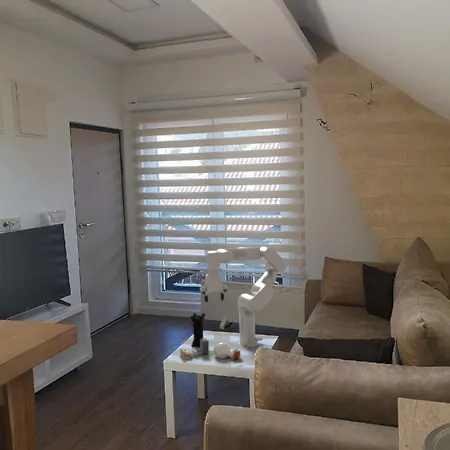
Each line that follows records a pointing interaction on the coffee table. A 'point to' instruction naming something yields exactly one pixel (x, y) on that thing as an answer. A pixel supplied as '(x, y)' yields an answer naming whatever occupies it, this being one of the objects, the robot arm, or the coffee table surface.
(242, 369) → the coffee table surface
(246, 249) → the robot arm
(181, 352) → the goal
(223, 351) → the potion bottle
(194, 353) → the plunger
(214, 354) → the felt board
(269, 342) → the coffee table surface
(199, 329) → the chess piece
